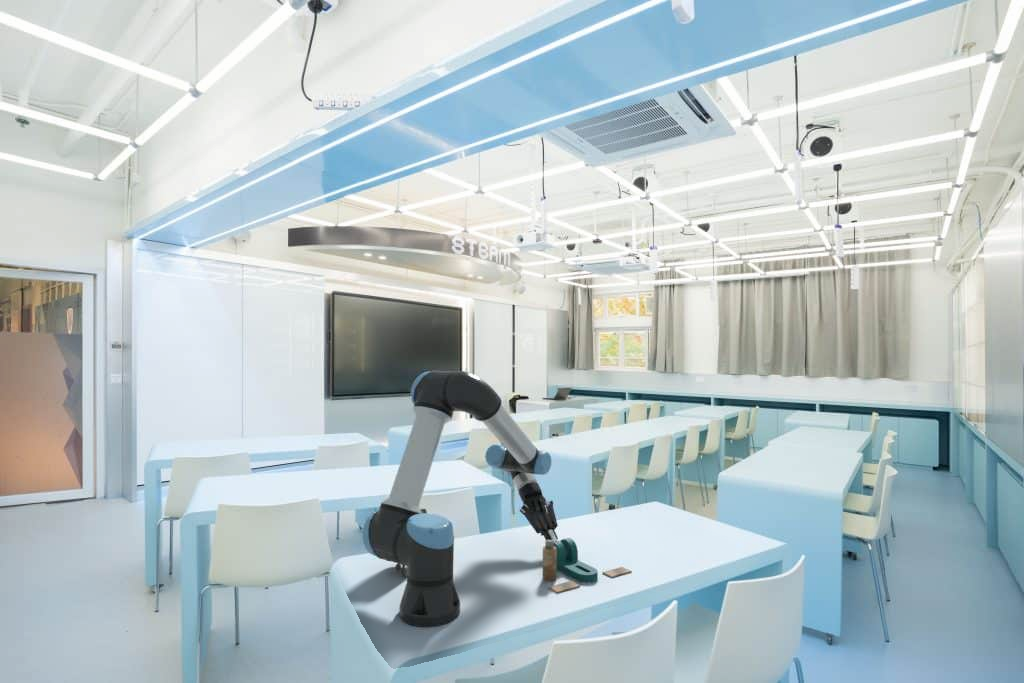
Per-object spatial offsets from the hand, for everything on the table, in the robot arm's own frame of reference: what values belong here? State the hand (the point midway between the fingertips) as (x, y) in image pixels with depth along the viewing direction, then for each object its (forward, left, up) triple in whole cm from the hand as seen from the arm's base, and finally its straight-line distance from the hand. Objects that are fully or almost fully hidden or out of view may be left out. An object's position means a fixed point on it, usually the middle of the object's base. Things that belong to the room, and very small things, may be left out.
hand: (557, 550), depth 172 cm
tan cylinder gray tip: (-11, -10, -3) cm, 15 cm away
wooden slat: (-1, -17, -3) cm, 18 cm away
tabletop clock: (-44, +20, -4) cm, 48 cm away
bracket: (-1, -10, -4) cm, 11 cm away
